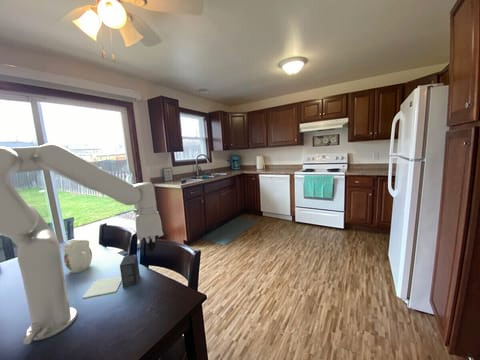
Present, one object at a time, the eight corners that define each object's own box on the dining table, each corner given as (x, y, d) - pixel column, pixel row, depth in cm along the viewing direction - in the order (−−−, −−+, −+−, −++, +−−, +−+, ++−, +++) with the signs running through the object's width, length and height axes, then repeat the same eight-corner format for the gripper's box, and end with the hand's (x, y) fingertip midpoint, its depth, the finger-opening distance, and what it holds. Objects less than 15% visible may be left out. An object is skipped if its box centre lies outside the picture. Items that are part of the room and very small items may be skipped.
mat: (116, 292, 85) (115, 291, 85) (82, 298, 82) (82, 297, 82) (124, 275, 96) (124, 275, 96) (95, 281, 93) (95, 280, 93)
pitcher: (75, 280, 94) (70, 252, 93) (61, 270, 104) (56, 244, 103) (101, 269, 103) (97, 243, 102) (86, 260, 113) (82, 236, 112)
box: (126, 278, 94) (123, 256, 93) (140, 275, 96) (137, 254, 95) (122, 288, 87) (119, 265, 86) (137, 285, 89) (134, 262, 87)
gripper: (126, 215, 85) (132, 256, 87) (164, 210, 88) (169, 250, 91) (130, 210, 92) (136, 249, 94) (165, 206, 96) (170, 243, 98)
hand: (152, 249), depth 93 cm, fingers closed
